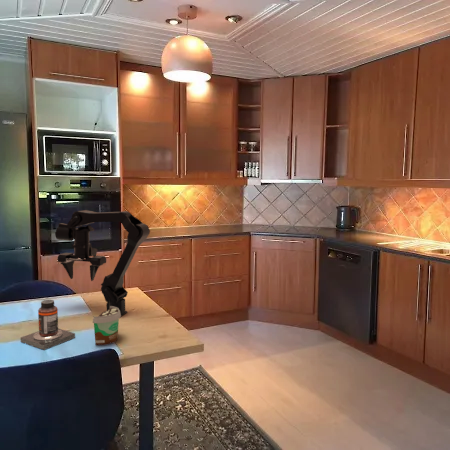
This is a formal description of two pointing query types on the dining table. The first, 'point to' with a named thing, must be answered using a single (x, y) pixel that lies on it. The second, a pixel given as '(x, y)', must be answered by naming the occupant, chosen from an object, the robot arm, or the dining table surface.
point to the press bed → (47, 339)
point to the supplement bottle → (48, 318)
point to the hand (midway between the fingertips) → (81, 279)
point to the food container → (106, 326)
